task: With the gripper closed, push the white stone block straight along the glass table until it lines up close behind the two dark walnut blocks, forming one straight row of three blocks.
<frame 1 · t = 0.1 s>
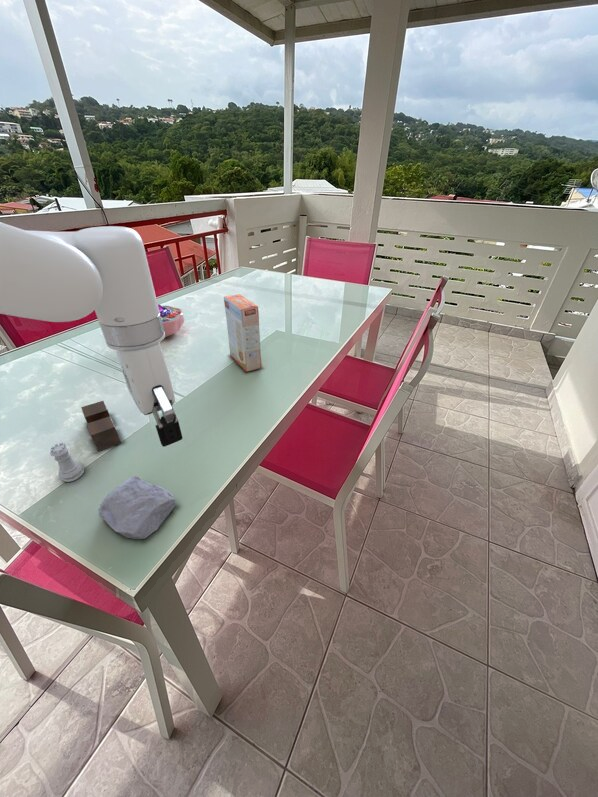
hand: (162, 426, 55), 18 cm above the table, tool pointing down, fingers open, 9 cm apart
stone block: (137, 514, 62), on the table
cell model: (164, 334, 130), on the table
cracker box: (245, 362, 112), on the table
walnut block near: (107, 441, 78), on the table
rook chess piece: (73, 475, 70), on the table
walnut block far: (101, 424, 83), on the table
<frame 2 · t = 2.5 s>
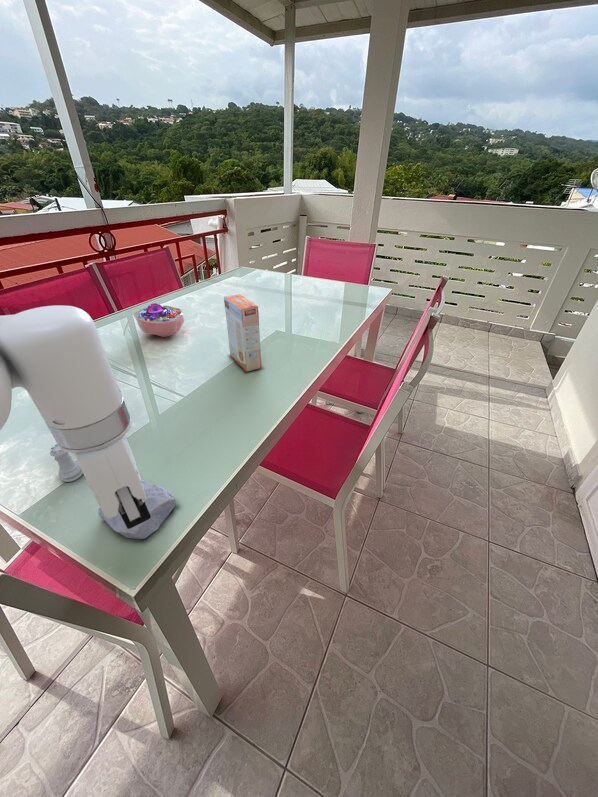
hand: (138, 519, 47), 12 cm above the table, tool pointing down, fingers closed
nothing on the table moved.
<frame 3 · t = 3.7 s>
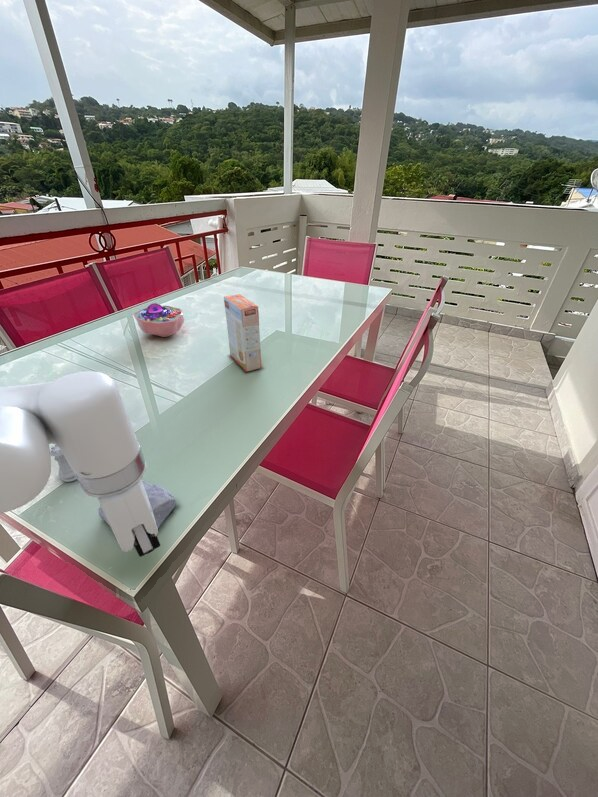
hand: (149, 547, 52), 4 cm above the table, tool pointing down, fingers closed
nothing on the table moved.
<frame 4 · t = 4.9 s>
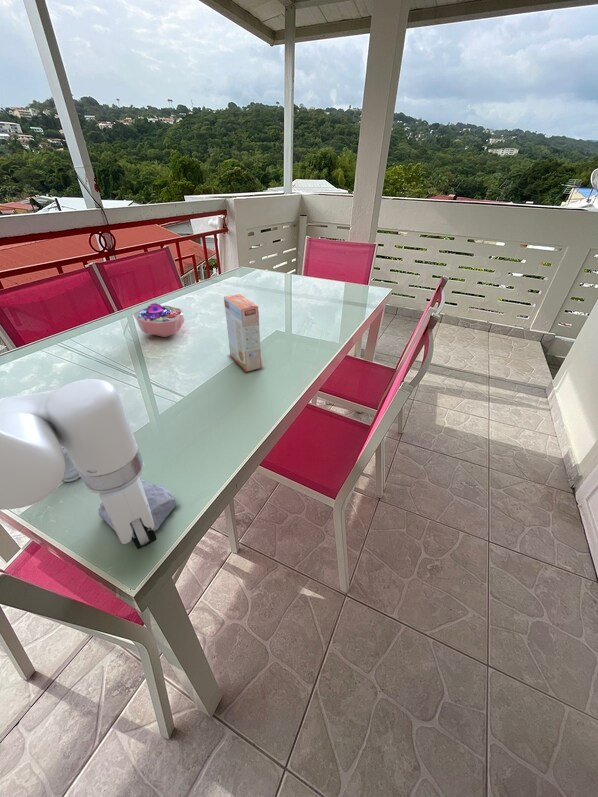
hand: (146, 541, 56), 2 cm above the table, tool pointing down, fingers closed
stone block: (137, 514, 62), on the table, touching gripper
everything else where it was.
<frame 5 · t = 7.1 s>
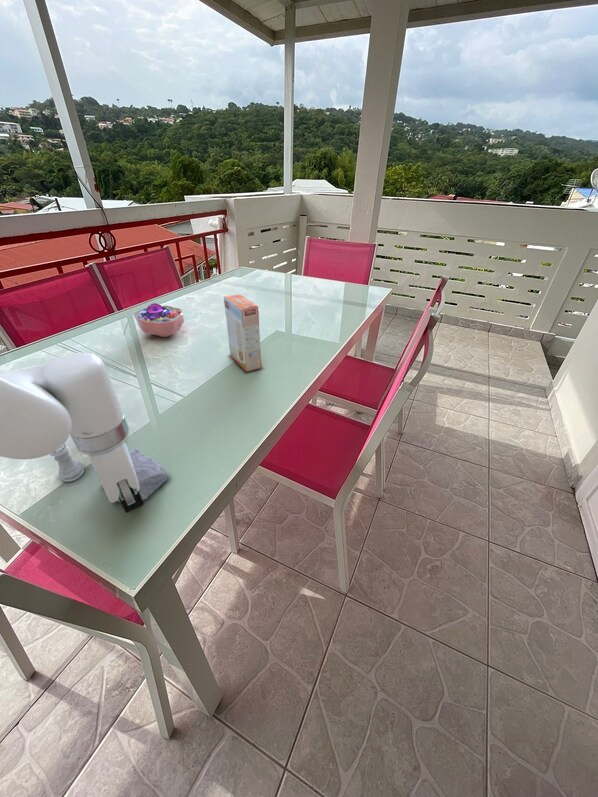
hand: (134, 505, 61), 2 cm above the table, tool pointing down, fingers closed
stone block: (132, 483, 68), on the table, touching gripper
everything else where it was.
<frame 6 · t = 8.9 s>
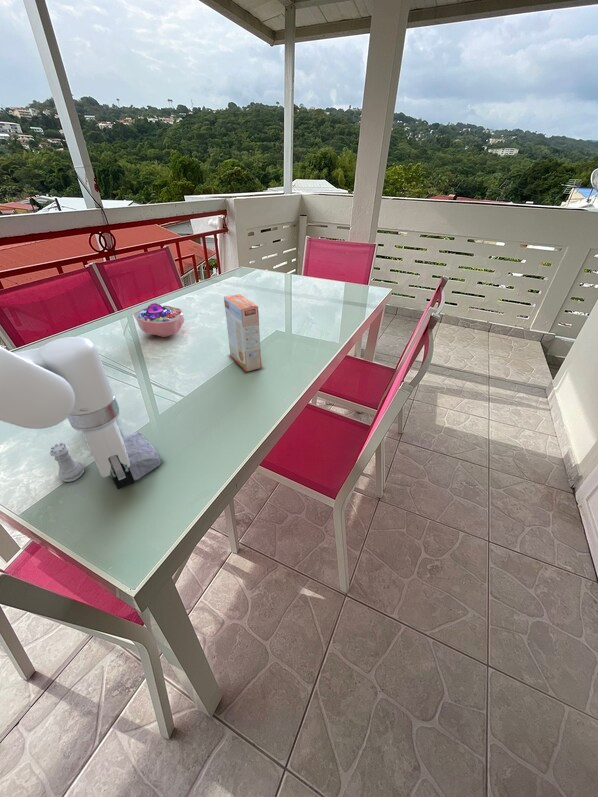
hand: (125, 483, 66), 2 cm above the table, tool pointing down, fingers closed
stone block: (130, 463, 73), on the table, touching gripper
everything else where it was.
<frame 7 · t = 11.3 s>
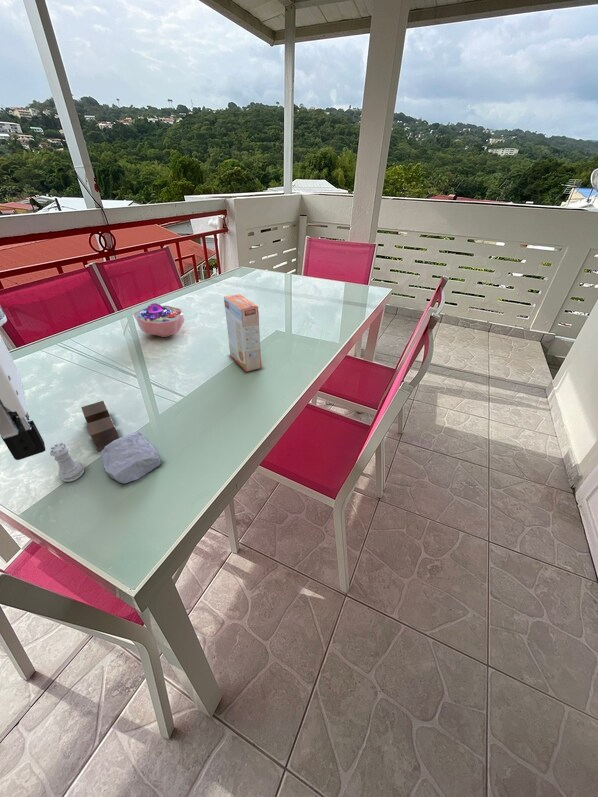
hand: (30, 452, 42), 23 cm above the table, tool pointing down, fingers closed
stone block: (130, 463, 73), on the table
everything else where it was.
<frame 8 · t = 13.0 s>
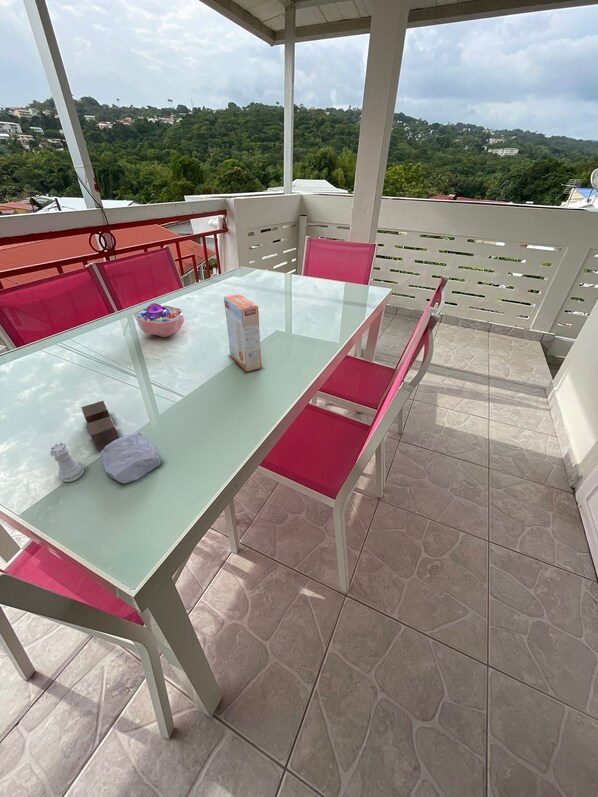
nothing on the table moved.
at the end: stone block 2.6 cm from the target spot on the table beside the walnut block near, on the table; stone block moved 14.8 cm from its start; walnut block far moved 0.0 cm from its start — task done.
